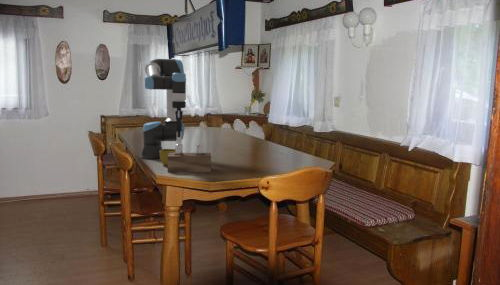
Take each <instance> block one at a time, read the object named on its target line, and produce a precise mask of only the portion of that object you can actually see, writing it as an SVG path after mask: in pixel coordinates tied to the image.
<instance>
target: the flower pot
mask: <svg viewBox="0 0 500 285" xmlns="http://www.w3.org/2000/svg"><path fill="white" fill-rule="evenodd" d="M159 153H160V158H159V159H160V161H161V164H162V165H163V166H168V154H169V153H175V149H174V148H162V150H160V151H159Z"/></svg>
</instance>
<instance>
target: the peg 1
mask: <svg viewBox="0 0 500 285" xmlns="http://www.w3.org/2000/svg"><path fill="white" fill-rule="evenodd" d="M174 145H175V155H183V153H184V152H183V148H184V146H183V143H175V144H174Z"/></svg>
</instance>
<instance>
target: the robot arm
mask: <svg viewBox="0 0 500 285" xmlns="http://www.w3.org/2000/svg"><path fill="white" fill-rule="evenodd" d="M183 63H184V62H183V60H181V59H175V58H174V59H172V58H154V59H152V60H151V61H149V62H147V64H146V65H145V68H144V71H145V74H146V76H144V89H146V90H160V91H161V90H162V91H163V90H164V91H165V90H166V119H165V120H164V123H162V121H150V122H146V123H144V124H143V125H142V126H143V128H142V134H143V135H142V141H143V145H142V149H141V153H140V158H142V159H144V160H159V159H160V153H159V151H160V150H162V149H163V147H162V142H176V144H183V143H182V140H183V139H184V135H185V124H184V123H183V114H184V111H183V110H182V109H186V108H187V104H186V103H187V101H186V100H187V93H186V91H187V90H186V89H187V88H186V87H187V85H186V84H187V77H186V76H187V75H186V73H185V70H184V64H183Z"/></svg>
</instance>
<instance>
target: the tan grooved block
mask: <svg viewBox="0 0 500 285" xmlns="http://www.w3.org/2000/svg"><path fill="white" fill-rule="evenodd" d="M211 172H212V154H211V152H204V155H197V152H183V155H175V153H169V154H168V165H167V173H211Z"/></svg>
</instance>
